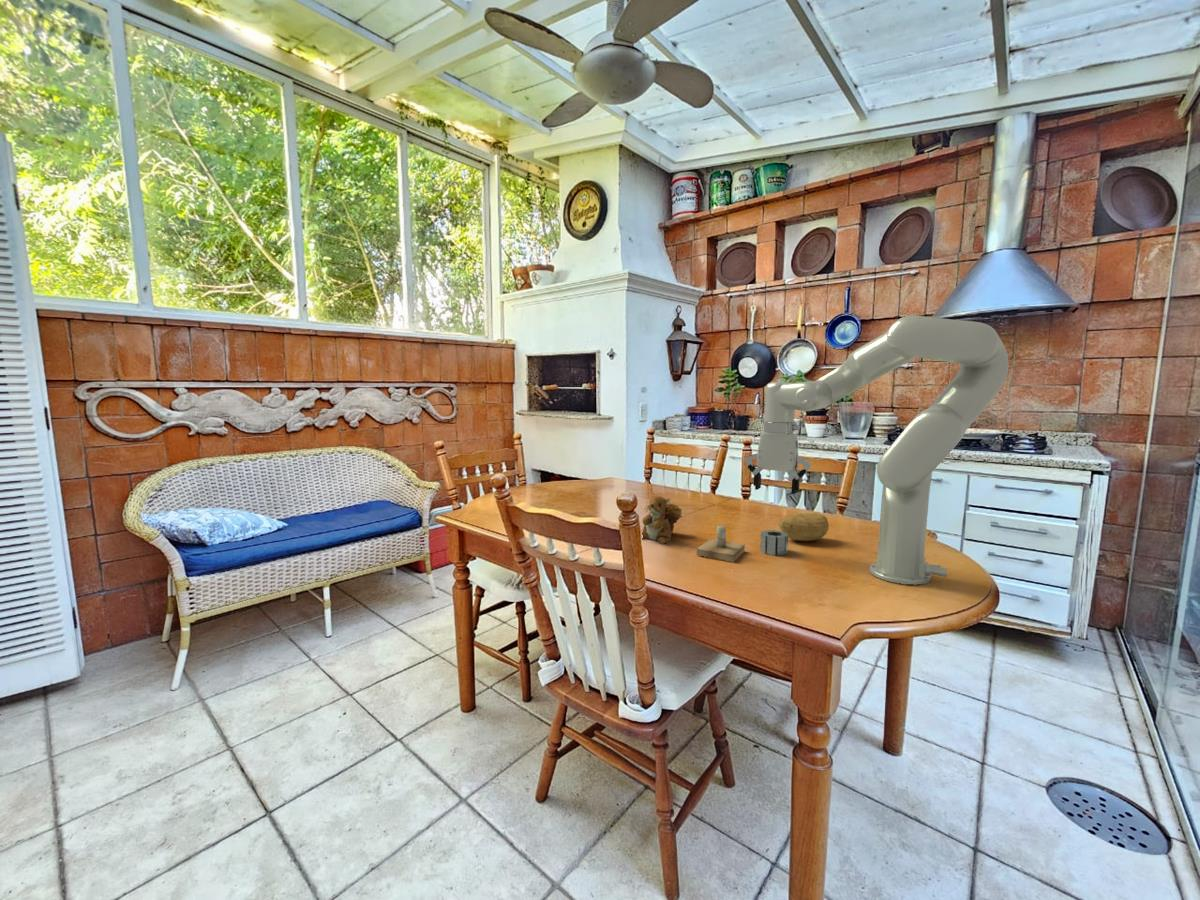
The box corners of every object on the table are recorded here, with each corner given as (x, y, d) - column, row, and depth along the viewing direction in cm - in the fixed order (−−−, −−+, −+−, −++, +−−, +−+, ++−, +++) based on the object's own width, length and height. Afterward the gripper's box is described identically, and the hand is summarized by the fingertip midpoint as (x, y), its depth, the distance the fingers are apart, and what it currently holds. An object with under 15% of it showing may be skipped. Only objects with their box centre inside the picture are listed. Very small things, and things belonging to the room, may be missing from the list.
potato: (773, 535, 155) (774, 509, 154) (820, 535, 155) (821, 509, 154) (783, 545, 146) (784, 518, 145) (834, 545, 145) (835, 518, 144)
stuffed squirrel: (633, 539, 154) (632, 496, 152) (659, 528, 164) (659, 488, 162) (660, 546, 147) (660, 501, 145) (686, 534, 158) (687, 492, 156)
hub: (789, 549, 142) (790, 532, 141) (783, 557, 136) (784, 538, 136) (764, 545, 146) (765, 528, 145) (758, 552, 140) (758, 535, 139)
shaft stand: (744, 551, 141) (745, 525, 140) (733, 562, 133) (734, 534, 132) (709, 545, 147) (710, 520, 146) (696, 555, 138) (697, 528, 137)
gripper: (815, 428, 135) (812, 492, 138) (750, 425, 145) (748, 484, 147) (810, 431, 129) (806, 497, 132) (742, 427, 138) (740, 489, 141)
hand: (775, 490), depth 139 cm, fingers open, 9 cm apart
